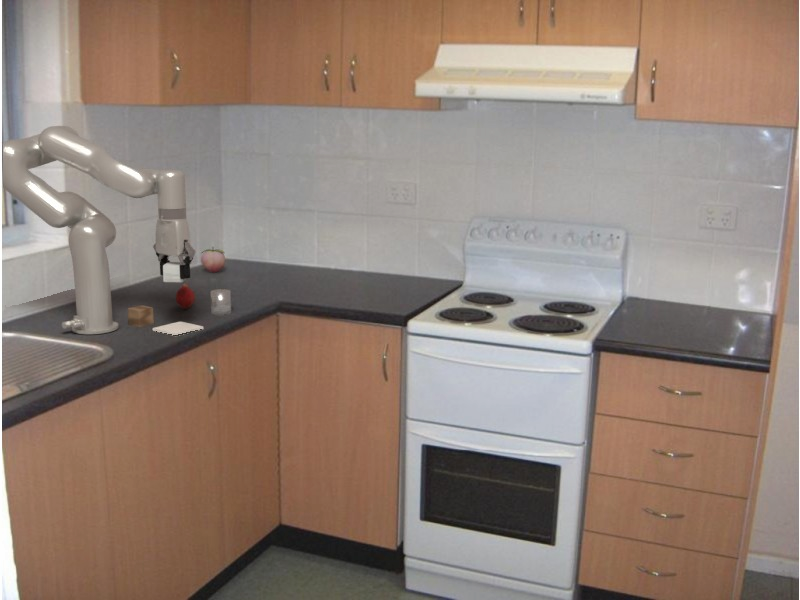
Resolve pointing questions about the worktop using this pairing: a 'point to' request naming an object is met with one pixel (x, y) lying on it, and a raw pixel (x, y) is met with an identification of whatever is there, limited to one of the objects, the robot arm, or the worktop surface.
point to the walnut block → (140, 316)
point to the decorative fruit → (213, 259)
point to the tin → (220, 302)
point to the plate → (177, 328)
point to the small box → (172, 272)
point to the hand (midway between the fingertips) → (175, 276)
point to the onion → (185, 297)
